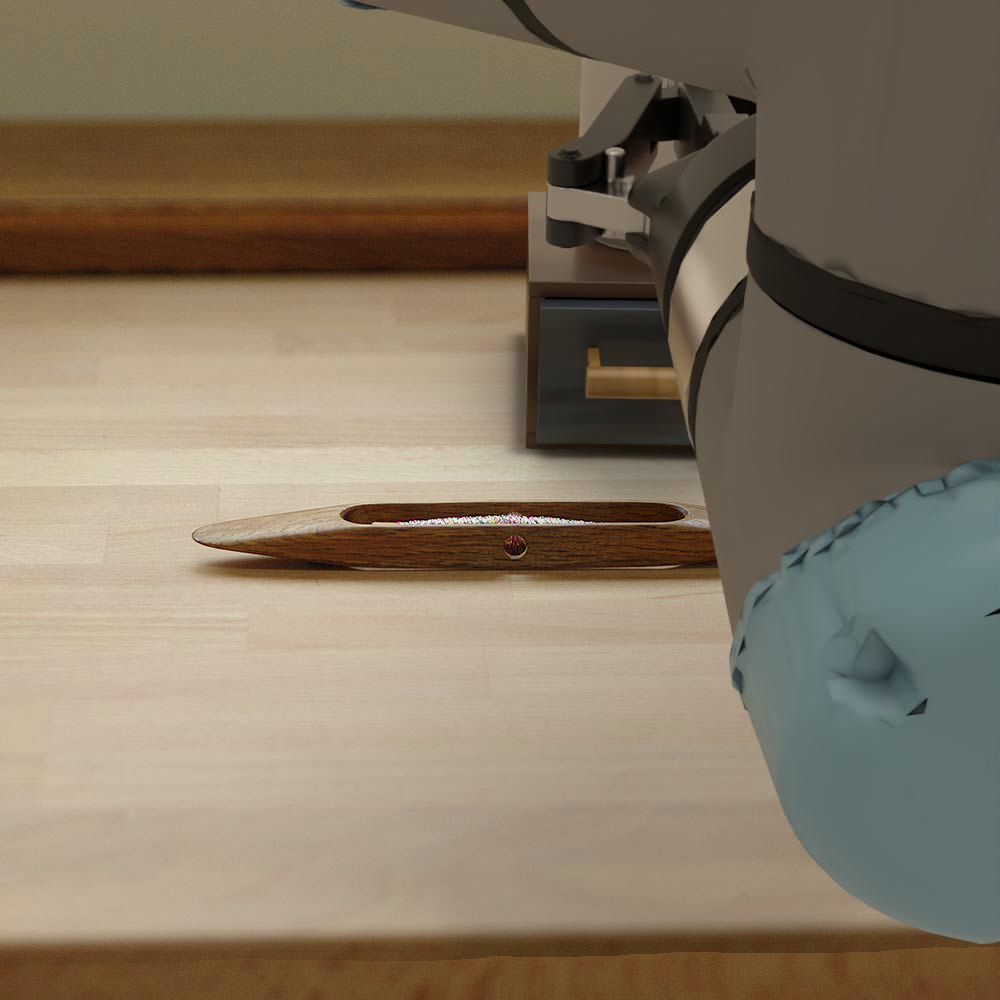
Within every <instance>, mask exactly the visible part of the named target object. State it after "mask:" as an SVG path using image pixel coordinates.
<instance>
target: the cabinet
mask: <svg viewBox="0 0 1000 1000" xmlns="http://www.w3.org/2000/svg"><path fill="white" fill-rule="evenodd" d="M546 192H547V191H528V192H527V222H526V223H527V225H526V226H527V227H526V228H527V229H526V231H527V232H526V272H525V273H526V276H525V277H526V279H525V280H526V281H525V326H524V327H525V331H524V355H525V356H524V365H525V366H524V370H525V371H524V372H525V373H524V377H525V379H524V384H525V385H524V386H525V387H524V388H525V389H524V391H525V392H524V395H525V396H524V397H525V398H524V399H525V400H524V401H525V402H524V404H525V405H524V406H525V407H524V409H525V410H524V411H525V412H524V413H525V415H524V416H525V417H524V418H525V421H524V426H525V428H524V429H525V430H524V431H525V432H524V433H525V435H524V436H525V438H524V439H525V440H524V441H525V443H524V444H525V448H527V449H531V448H533V449H534V448H535V449H536V448H537V449H592V450H593V449H597V450H598V449H599V450H600V449H601V450H602V449H603V450H661V451H662V450H667V451H668V450H669V451H670V450H671V451H694V449H693V446H692V445H649V444H580V443H537V400H538V361H539V321H540V300H541V299H548V300H549V297H563V298H636V299H658V297H657V293H656V288H655V284H654V279H653V274H652V268H651V267H649V266H648V265H646V264H645V263H643V262H641V261H639V260H638V259H637V258H635V257H634V256H633V255H632V253H631V252H630V251H629V250H623V249H618V248H613V247H610V246H607V245H604V244H602V243H599V242H598V241H596V240H595V239H594V240H592V241H591V242H589V243H587V244H585V245H582V246H579V247H573V248H560V247H558V246H554V245H551V244H549V243H547V242H546Z"/></svg>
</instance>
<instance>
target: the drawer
mask: <svg viewBox="0 0 1000 1000" xmlns="http://www.w3.org/2000/svg"><path fill="white" fill-rule="evenodd" d="M537 443H580V444H649V445H692V444H691V442H690V439H689V436H688V431H687V426H686V422H685V417H684V412H683V408H682V403H681V398H680V394H679V389H678V384H677V379H676V375H675V370H674V365H673V361H672V356H671V351H670V348H669V344H668V341H667V337H666V333H665V329H664V324H663V320H662V315H661V311H660V306H659V302H658V299H636V298H563V297H549V300H548V299H541V300H540V321H539V361H538V400H537Z"/></svg>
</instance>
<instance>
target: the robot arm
mask: <svg viewBox="0 0 1000 1000" xmlns="http://www.w3.org/2000/svg"><path fill="white" fill-rule="evenodd" d="M335 2H337V3H339V4H340V5H343V6H346V7H348V8H352V9H355V10H357V9H358V10H364V11H368V10H369V11H371V10H381V11H393V12H397V13H401V14H405V15H409V16H414V17H416V18H417V17H418V18H422V19H427V20H429V21H434V22H439V23H443V24H447V25H451V26H454V27H460V28H464V29H467V30H472V31H476V32H480V33H485V34H489V35H493V36H496V37H500V38H501V37H502V38H506V39H510V40H513V41H518V42H522V43H526V44H530V45H535V46H538V47H542V48H547V49H551V50H555V51H560V52H563V53H567V54H571V55H572V56H576V57H579V58H582V57H584V58H588V59H592V60H597V61H602V62H607V63H611V64H614V65H618V66H622V67H626V68H629V69H633V70H637V71H641V72H642V73H636V74H634V75H631V76H627V77H626V78H625V79H624V80H623V82H622V83H621V84H620V86H619V87H618V89H617V90H616V91H615V93H614V94H613V95H612V97H611V98H610V100H609V101H608V102H607V104H606V105H605V106H604V108H603V109H602V111H601V112H600V113H599V115H598V116H597V118H596V119H595V120H594V122H593V123H592V124H591V126H590V127H589V129H588V130H587V131H586V133H585V134H584V135H583V136H582V137H580V138H579V137H578V138H576V139H572V140H571V141H569V142H566V143H563V144H562V145H560V146H557V147H555V148H553V149H551V150H549V151H547V164H546V165H547V169H546V170H547V171H546V191H545V192H546V242H547V243H549V244H551V245H554V246H558V247H560V248H573V247H579V246H582V245H585V244H587V243H589V242H591V241H592V240H594V239H596V238H598V237H600V236H602V237H605V238H617V237H619V236H620V235H621V232H622V233H626V234H625V239H626V244H627V247H628V249H629V251H630V252H631V253H632V255H633V256H634V257H635V258H637V259H638V260H639V261H641V262H643V263H645V264H646V265H648V266H649V267H651V268H652V274H653V279H654V284H655V288H656V293H657V297H658V302H659V306H660V311H661V315H662V320H663V324H664V329H665V333H666V337H667V341H668V344H669V348H670V351H671V356H672V361H673V365H674V370H675V375H676V379H677V384H678V389H679V394H680V398H681V403H682V408H683V412H684V417H685V422H686V426H687V431H688V436H689V439H690V442H691V444H692V446H693V449H694V450H693V452H694V457H695V462H696V467H697V470H698V476H699V481H700V486H701V490H702V494H703V495H702V496H703V499H704V500H703V501H704V505H705V510H706V514H707V519H708V523H709V527H710V528H709V529H710V533H711V538H712V543H713V548H714V552H715V557H716V562H717V568H718V572H719V577H720V583H721V586H722V587H721V588H722V591H723V597H724V600H725V601H724V602H725V606H726V611H727V616H728V621H729V626H730V630H731V635H732V640H731V647H730V651H729V652H730V653H729V657H728V659H729V660H728V663H729V673H730V679H731V680H730V682H731V686H732V688H734V690H736V691H737V692H738V694H739V698H740V701H741V703H742V706H743V709H744V710H745V711H746V712H747V713H748V716H749V719H750V722H751V725H752V728H753V730H754V733H755V736H756V738H757V741H758V745H759V747H760V751H761V753H762V755H763V759H764V761H765V764H766V767H767V770H768V773H769V776H770V779H771V782H772V784H773V786H774V790H775V792H776V793H775V794H776V795H777V799H778V801H779V804H780V806H781V808H782V811H783V814H784V815H785V817H786V821H788V824H789V825H790V827H791V829H792V831H793V833H794V835H795V837H796V839H797V840H798V841H799V843H800V844H801V846H802V848H803V849H804V850H805V851H806V852H807V854H808V855H809V857H811V859H812V860H813V861H814V862H815V863H816V864H817V866H818V867H820V868H821V869H822V870H823V871H824V872H825V873H826V874H827V875H828V876H829V877H830V878H831V879H832V880H833V881H834V882H835V884H837V885H838V886H839V887H841V889H843V890H845V891H846V892H847V893H848V894H849V895H851V896H852V897H854V898H855V899H856V900H859V901H860V902H861V903H863V904H865V905H866V906H868V907H869V908H871V909H873V910H875V911H878V913H880V914H882V915H885V916H887V917H888V918H890V919H892V920H894V921H896V922H899V923H902V924H904V925H907V926H910V927H913V928H915V929H918V930H920V931H923V932H926V933H931V934H933V935H939V936H944V937H947V938H952V939H955V940H956V939H957V940H960V941H966V942H969V943H973V944H979V945H987V944H989V945H990V944H995V943H999V942H1000V0H335ZM654 75H656V76H654ZM658 76H659V77H658ZM660 77H663V78H667V87H666V88H662V78H660ZM664 141H674V150H675V153H676V156H677V159H678V160H676V161H674V162H672V163H670V164H668V165H666V166H663V167H661V168H659V169H657V170H655V171H653V172H651V173H648V171H649V169H650V168H651V166H652V164H653V162H654V160H655V158H656V156H657V153H658V142H664ZM647 173H648V174H647Z"/></svg>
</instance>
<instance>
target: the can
mask: <svg viewBox="0 0 1000 1000" xmlns="http://www.w3.org/2000/svg"><path fill="white" fill-rule="evenodd" d="M580 73H581V75H580V78H581V79H580V97H579V98H580V101H579V123H578V124H579V125H578V138H580V137H582V136H583V135H584V134H585V133H586V131H587V130H588V129H589V127H590V126H591V124H592V123H593V122H594V120H595V119H596V118H597V116H598V115H599V113H600V112H601V111H602V109H603V108H604V106H605V105H606V104H607V102H608V101H609V100H610V98H611V97H612V95H613V94H614V93H615V91H616V90H617V89H618V87H619V86H620V84H621V83H622V82H623V80H624V79H625V78H626V77H627V76H631V75H634V74H636V73H642V72H641V71H637V70H633V69H629V68H626V67H622V66H618V65H614V64H611V63H607V62H602V61H597V60H592V59H588V58H584V57H581V72H580ZM654 76H656V75H654ZM658 77H659V76H658ZM660 78H662V88H666V87H667V78H663V77H660ZM676 160H678V159H677V156H676V153H675V150H674V141H664V142H658V153H657V156H656V158H655V160H654V162H653V164H652V166H651V168H650V169H649V171H648V173H651V172H653V171H655V170H657V169H659V168H661V167H663V166H666V165H668V164H670V163H672V162H674V161H676ZM648 173H647V174H648ZM625 234H626V233H622V232H621V235H620V236H619V237H617V238H605V237H602V236H600V237H598V238H596V239H595V240H596V241H598V242H599V243H602V244H604V245H607V246H610V247H613V248H618V249H623V250H629V249H628V247H627V244H626V239H625Z"/></svg>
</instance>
